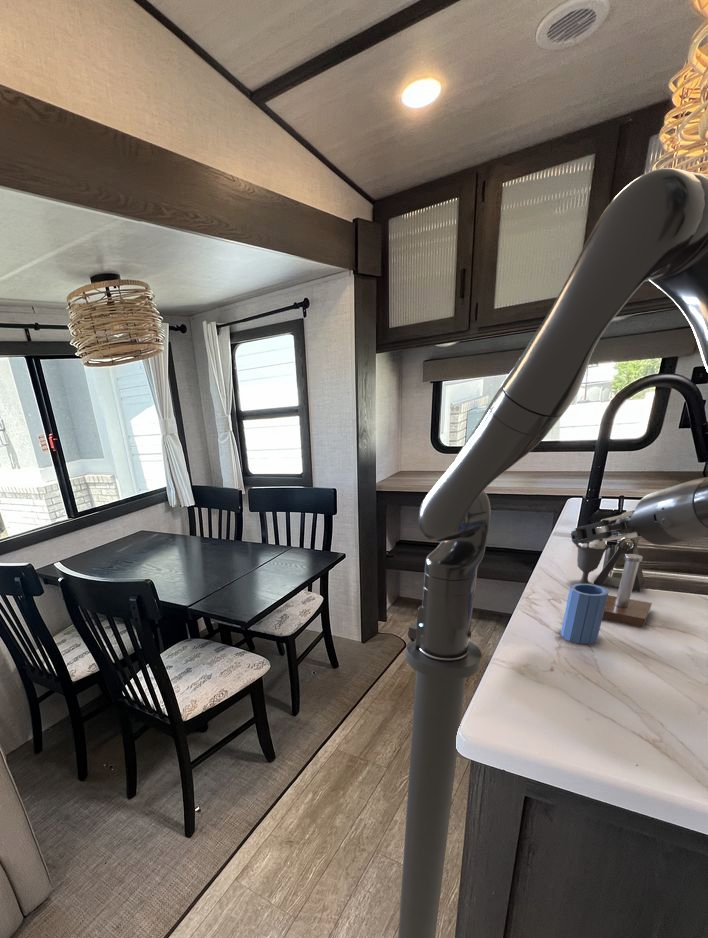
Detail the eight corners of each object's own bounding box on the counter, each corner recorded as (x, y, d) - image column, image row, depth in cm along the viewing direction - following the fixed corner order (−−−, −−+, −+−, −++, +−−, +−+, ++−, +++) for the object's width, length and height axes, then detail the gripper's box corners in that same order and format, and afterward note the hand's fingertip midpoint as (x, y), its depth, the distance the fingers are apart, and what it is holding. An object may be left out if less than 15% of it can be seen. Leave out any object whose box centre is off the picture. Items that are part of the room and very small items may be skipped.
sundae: (600, 592, 107) (615, 529, 101) (566, 588, 111) (578, 526, 105) (600, 582, 112) (614, 521, 106) (567, 578, 116) (579, 519, 110)
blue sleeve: (557, 638, 90) (566, 591, 86) (565, 627, 94) (574, 581, 90) (592, 647, 87) (604, 598, 83) (599, 635, 90) (611, 587, 86)
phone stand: (644, 583, 110) (657, 534, 105) (639, 592, 106) (653, 541, 101) (598, 576, 116) (609, 529, 111) (592, 584, 112) (603, 535, 107)
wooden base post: (588, 616, 97) (601, 558, 92) (597, 601, 103) (611, 546, 98) (642, 628, 92) (659, 566, 86) (649, 611, 97) (666, 553, 92)
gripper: (736, 473, 61) (637, 502, 77) (628, 493, 61) (552, 518, 77) (748, 529, 61) (647, 547, 77) (640, 549, 61) (561, 562, 77)
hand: (599, 532), depth 77 cm, fingers open, 8 cm apart
